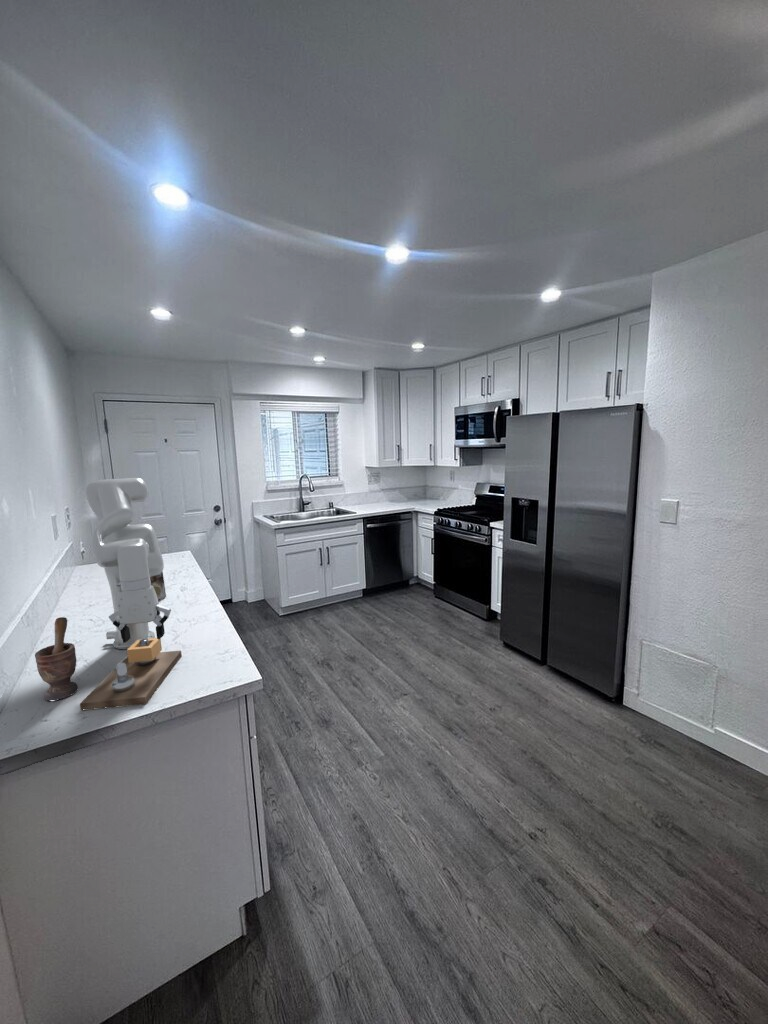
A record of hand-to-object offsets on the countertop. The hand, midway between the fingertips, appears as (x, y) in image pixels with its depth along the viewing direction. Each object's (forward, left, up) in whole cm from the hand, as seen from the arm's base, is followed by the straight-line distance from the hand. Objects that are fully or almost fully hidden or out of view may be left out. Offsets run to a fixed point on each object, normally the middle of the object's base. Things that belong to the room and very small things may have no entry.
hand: (143, 639), depth 127 cm
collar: (0, +1, -6) cm, 6 cm away
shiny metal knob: (0, +1, -8) cm, 8 cm away
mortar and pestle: (-19, -8, -10) cm, 23 cm away
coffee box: (-25, +67, -10) cm, 72 cm away
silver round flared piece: (0, -13, -8) cm, 15 cm away
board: (0, -6, -10) cm, 12 cm away
